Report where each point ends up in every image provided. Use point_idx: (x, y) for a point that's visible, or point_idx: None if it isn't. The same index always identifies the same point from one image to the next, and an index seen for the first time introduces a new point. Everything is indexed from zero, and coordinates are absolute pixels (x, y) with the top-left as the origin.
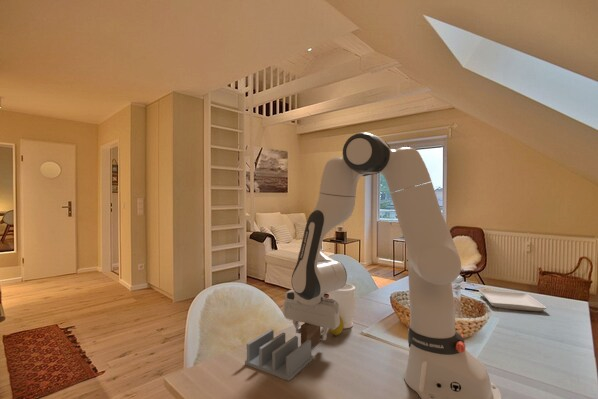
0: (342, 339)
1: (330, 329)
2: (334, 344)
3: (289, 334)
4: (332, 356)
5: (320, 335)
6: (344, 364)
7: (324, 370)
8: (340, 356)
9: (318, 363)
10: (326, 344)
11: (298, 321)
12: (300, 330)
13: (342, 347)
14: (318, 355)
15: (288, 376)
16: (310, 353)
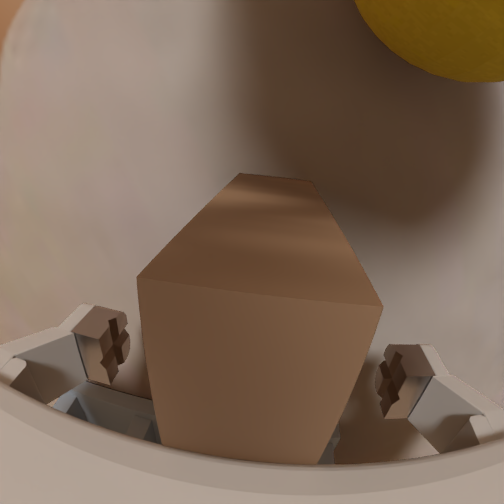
0: (476, 85)
1: (412, 62)
2: (445, 199)
3: (29, 198)
4: (443, 359)
5: (387, 411)
6: (489, 385)
7: (404, 449)
8: (483, 337)
9: (374, 432)
10: (385, 226)
11: (33, 384)
12: (111, 340)
13: (498, 225)
14: (360, 385)
15: None
16: (331, 463)
